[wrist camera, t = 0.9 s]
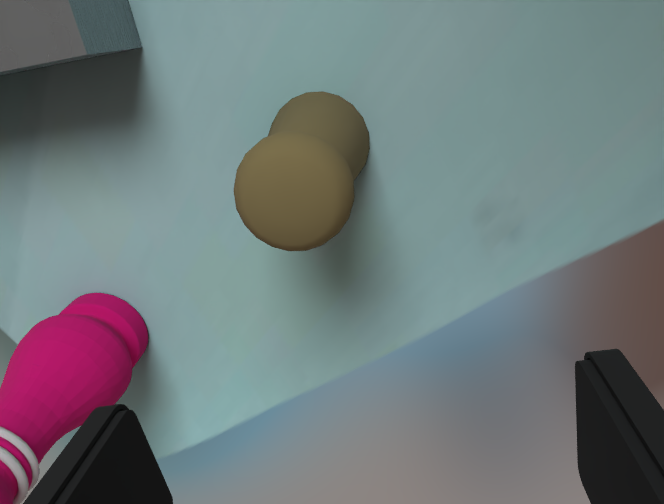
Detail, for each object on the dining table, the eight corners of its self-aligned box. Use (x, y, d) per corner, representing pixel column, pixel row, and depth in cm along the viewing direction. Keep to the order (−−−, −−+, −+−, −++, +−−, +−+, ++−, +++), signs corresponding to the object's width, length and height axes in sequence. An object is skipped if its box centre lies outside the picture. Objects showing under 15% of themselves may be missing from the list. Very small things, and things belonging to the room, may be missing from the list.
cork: (378, 181, 31) (376, 259, 21) (284, 200, 32) (240, 282, 22) (357, 80, 29) (344, 114, 19) (256, 104, 30) (193, 148, 20)
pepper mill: (104, 267, 36) (-185, 526, 18) (175, 340, 38) (-17, 639, 20) (40, 317, 38) (-273, 591, 20) (111, 383, 40) (-115, 686, 22)
